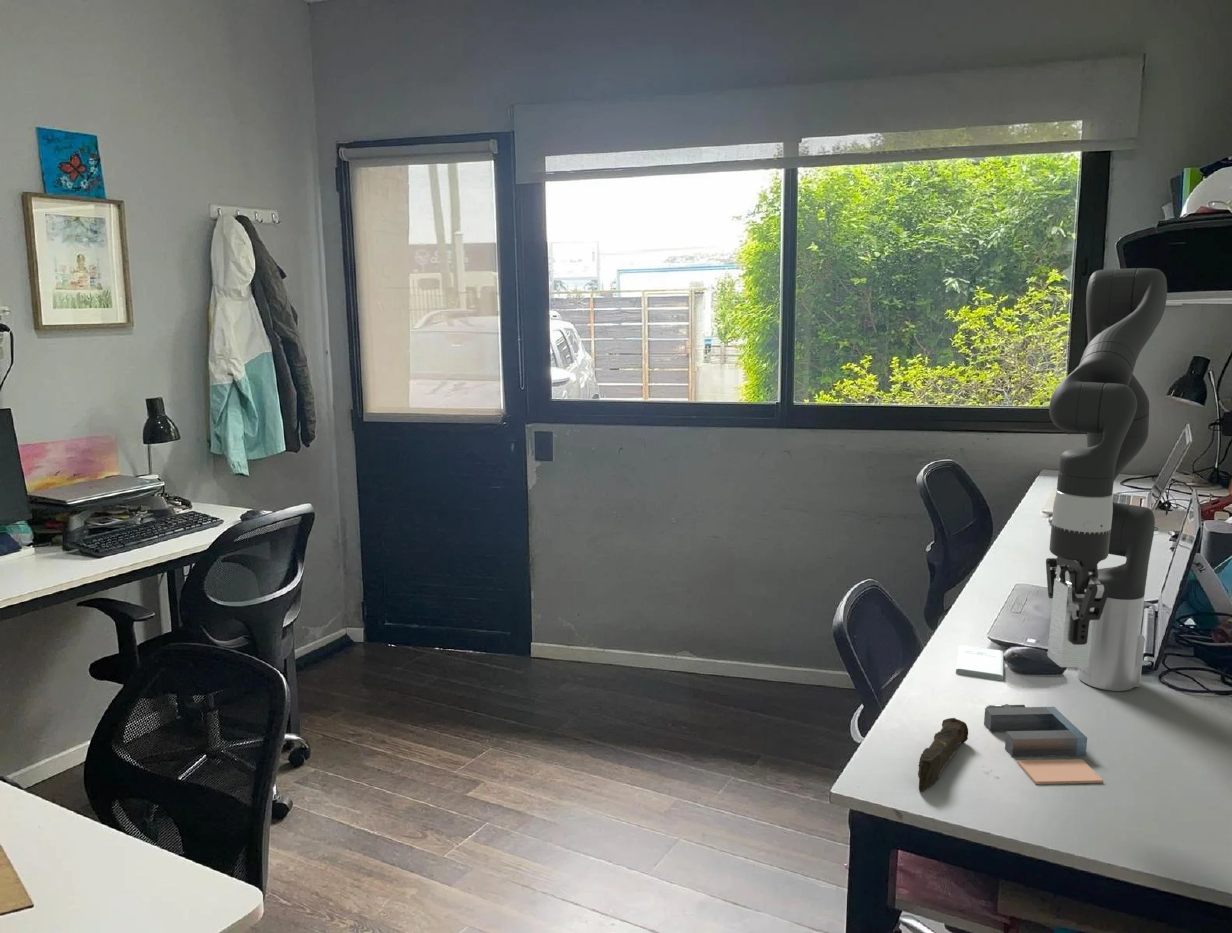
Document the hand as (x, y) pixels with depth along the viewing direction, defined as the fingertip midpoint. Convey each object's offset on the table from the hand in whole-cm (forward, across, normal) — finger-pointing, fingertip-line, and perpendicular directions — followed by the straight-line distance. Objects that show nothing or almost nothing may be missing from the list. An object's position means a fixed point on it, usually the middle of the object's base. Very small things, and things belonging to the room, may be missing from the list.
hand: (1070, 636), depth 133 cm
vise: (+21, +12, -1) cm, 24 cm away
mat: (+21, 0, 0) cm, 21 cm away
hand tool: (+22, +3, +16) cm, 27 cm away
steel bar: (+4, 0, 0) cm, 4 cm away
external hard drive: (+22, +39, -4) cm, 45 cm away
